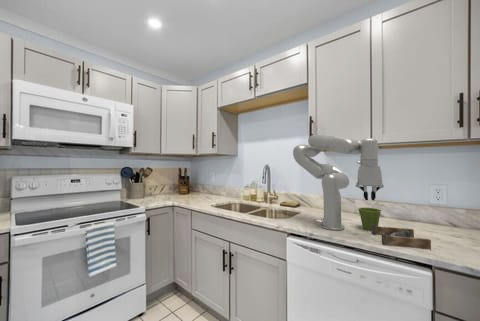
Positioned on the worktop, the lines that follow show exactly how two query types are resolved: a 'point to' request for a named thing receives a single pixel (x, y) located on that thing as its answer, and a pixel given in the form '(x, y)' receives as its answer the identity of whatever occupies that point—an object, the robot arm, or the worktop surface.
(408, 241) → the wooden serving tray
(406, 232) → the grey irregular lump
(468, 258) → the worktop surface
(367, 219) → the plant pot
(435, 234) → the worktop surface
